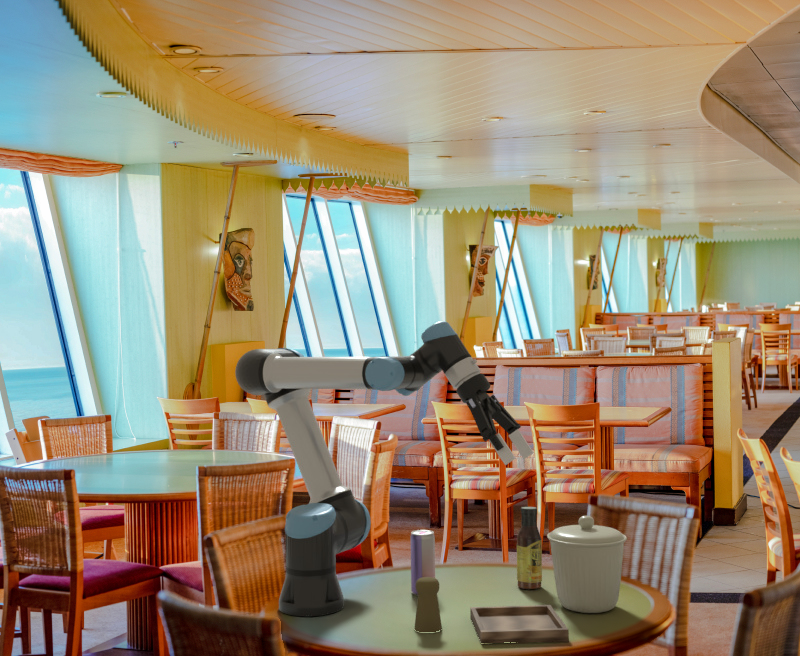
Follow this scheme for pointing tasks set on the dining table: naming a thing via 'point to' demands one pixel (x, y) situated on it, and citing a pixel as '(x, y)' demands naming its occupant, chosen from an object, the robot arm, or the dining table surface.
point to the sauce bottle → (529, 551)
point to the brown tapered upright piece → (427, 605)
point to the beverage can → (422, 556)
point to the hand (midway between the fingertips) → (520, 458)
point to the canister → (587, 565)
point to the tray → (518, 624)
